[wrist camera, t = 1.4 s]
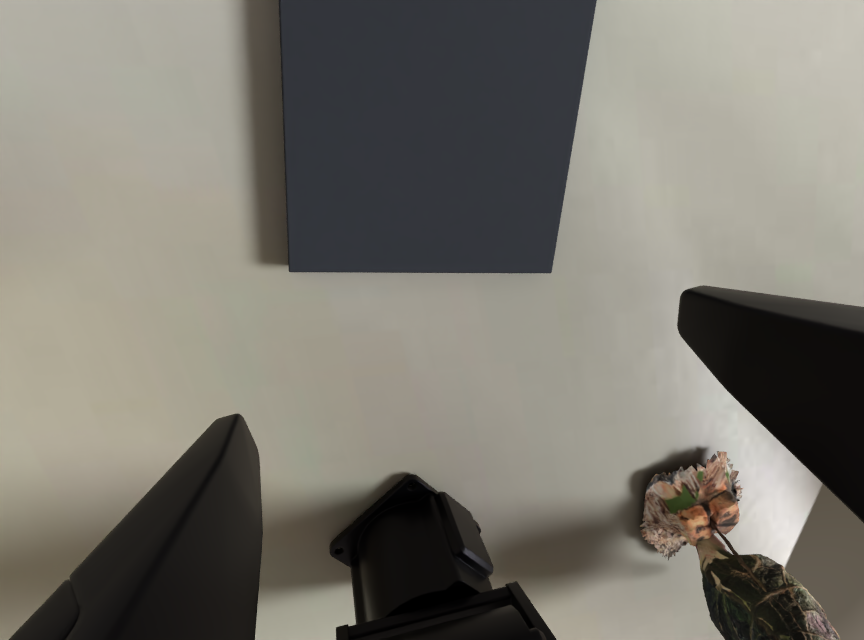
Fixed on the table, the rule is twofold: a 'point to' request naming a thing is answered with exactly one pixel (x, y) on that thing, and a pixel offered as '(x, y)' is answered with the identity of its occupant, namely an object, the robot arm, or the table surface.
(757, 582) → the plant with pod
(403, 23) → the desk pad
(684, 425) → the table surface
